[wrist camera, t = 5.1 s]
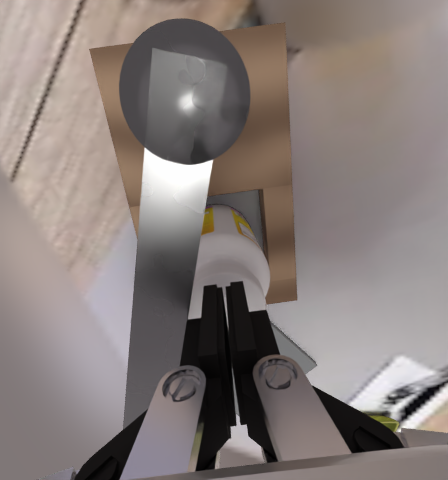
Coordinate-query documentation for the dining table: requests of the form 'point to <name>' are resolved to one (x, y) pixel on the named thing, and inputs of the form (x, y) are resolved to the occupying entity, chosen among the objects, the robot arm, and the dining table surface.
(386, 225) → the dining table surface
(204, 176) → the retention bar
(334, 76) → the dining table surface
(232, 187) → the collar stand
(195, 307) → the supplement bottle
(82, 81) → the dining table surface
